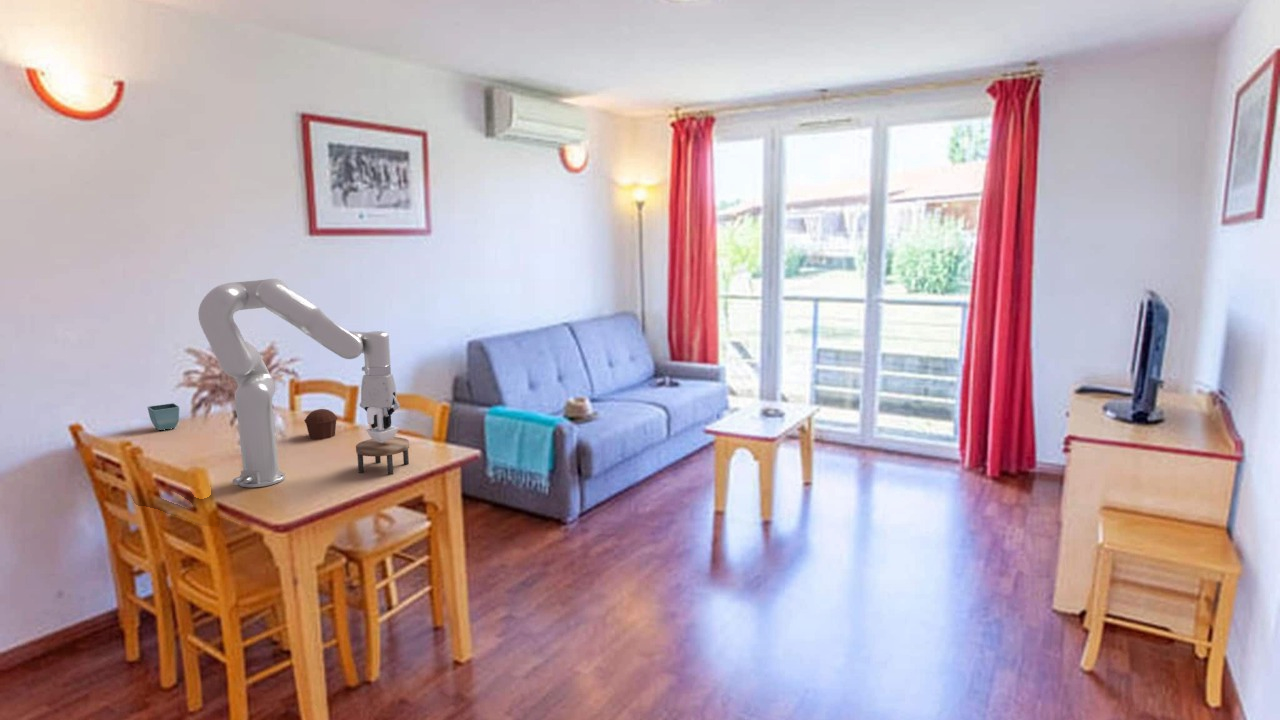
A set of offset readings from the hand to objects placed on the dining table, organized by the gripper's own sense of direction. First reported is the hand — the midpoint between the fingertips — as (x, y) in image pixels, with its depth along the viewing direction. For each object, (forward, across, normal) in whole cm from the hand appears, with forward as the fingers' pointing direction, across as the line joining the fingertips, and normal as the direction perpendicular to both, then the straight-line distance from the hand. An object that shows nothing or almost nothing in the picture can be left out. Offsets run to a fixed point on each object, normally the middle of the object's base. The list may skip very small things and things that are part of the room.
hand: (381, 426), depth 223 cm
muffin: (+14, -42, +30) cm, 53 cm away
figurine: (+4, 0, 0) cm, 4 cm away
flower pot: (+14, -107, +28) cm, 111 cm away
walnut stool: (+14, 0, 0) cm, 14 cm away
